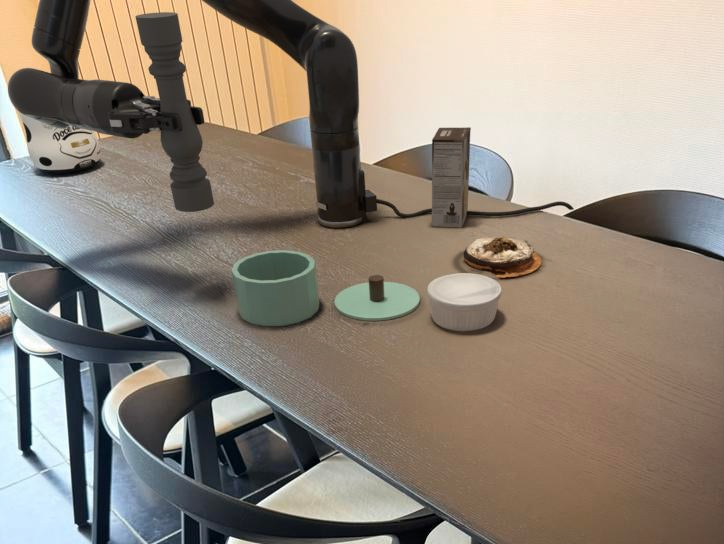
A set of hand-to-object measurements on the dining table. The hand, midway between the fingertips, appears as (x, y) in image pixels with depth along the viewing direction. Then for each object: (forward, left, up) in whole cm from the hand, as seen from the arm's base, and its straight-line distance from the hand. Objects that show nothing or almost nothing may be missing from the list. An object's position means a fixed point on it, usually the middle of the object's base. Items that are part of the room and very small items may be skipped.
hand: (190, 119), depth 103 cm
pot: (-7, +11, -26) cm, 30 cm away
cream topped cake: (-48, +9, -27) cm, 56 cm away
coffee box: (-50, -15, -27) cm, 58 cm away
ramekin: (-32, +27, -27) cm, 50 cm away
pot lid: (-22, +16, -26) cm, 37 cm away
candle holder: (+2, -2, -13) cm, 13 cm away
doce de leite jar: (+20, -97, -27) cm, 103 cm away
